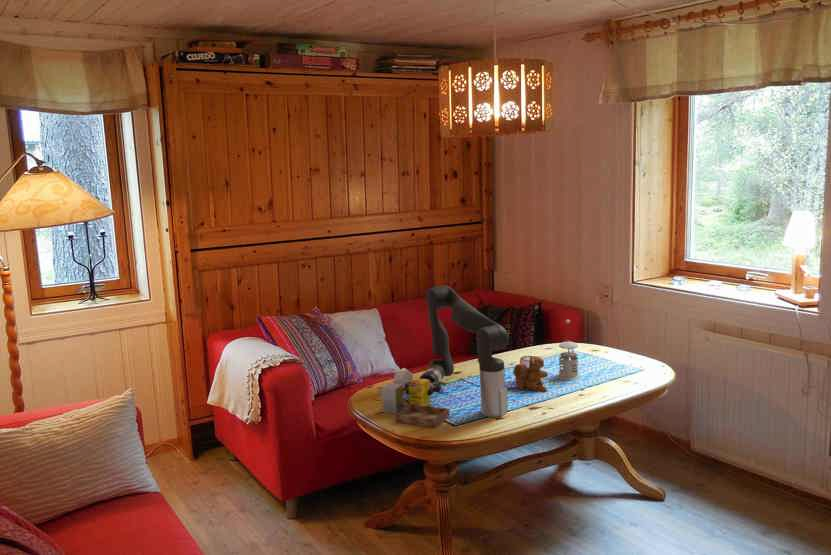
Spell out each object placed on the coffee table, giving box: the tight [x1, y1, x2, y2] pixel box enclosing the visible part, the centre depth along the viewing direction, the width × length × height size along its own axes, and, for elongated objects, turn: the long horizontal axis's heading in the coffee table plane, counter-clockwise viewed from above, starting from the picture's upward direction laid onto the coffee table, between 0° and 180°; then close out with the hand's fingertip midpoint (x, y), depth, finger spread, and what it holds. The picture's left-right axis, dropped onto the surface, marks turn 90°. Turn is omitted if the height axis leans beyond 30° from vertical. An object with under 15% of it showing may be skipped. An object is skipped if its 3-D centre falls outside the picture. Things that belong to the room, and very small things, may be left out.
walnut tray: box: [395, 404, 450, 429], centre depth 262 cm, size 16×12×3 cm
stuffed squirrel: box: [512, 355, 549, 392], centre depth 289 cm, size 10×14×13 cm
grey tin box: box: [381, 382, 405, 415], centre depth 272 cm, size 6×6×10 cm
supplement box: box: [408, 377, 431, 406], centre depth 274 cm, size 6×6×11 cm
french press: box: [557, 319, 581, 381], centre depth 301 cm, size 10×12×25 cm
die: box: [392, 367, 414, 390], centre depth 299 cm, size 8×9×10 cm
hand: (418, 392), depth 272 cm, fingers open, 8 cm apart
